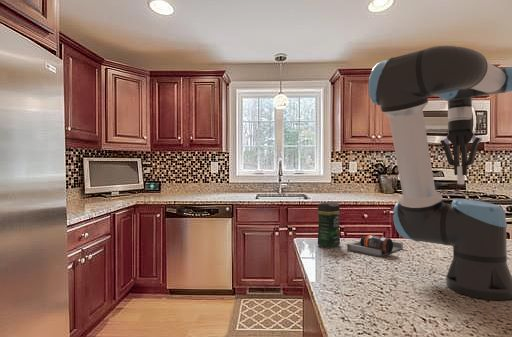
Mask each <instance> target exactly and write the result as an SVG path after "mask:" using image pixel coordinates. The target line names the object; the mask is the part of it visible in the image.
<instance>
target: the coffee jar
mask: <svg viewBox="0 0 512 337" xmlns="http://www.w3.org/2000/svg"><path fill="white" fill-rule="evenodd" d="M340 207H341V206H340V204H339V203H338V202H334V201H326V202H320V203H319V204H318V205H317V216H318V227H317V229H318V230H317V246H320V247H321V248H330V249H331V248H335V247H339V246H340V245H341V237H340V236H341V234H340V212H341V208H340Z"/></svg>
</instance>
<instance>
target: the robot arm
mask: <svg viewBox="0 0 512 337" xmlns="http://www.w3.org/2000/svg"><path fill="white" fill-rule="evenodd" d="M508 92H512V66H508V67H506V66H505V67H502V68H499V67H497V66H495V65H493V64H491V63H489V62H488V61H487V59H486V57H485V56H484V54H483V53H481V52H480V51H477V50H474V49H472V48H467V47H464V46H456V45H436V46H432V47H427V48H425V49H422V50H417V51H413V52H409V53H405V54H402V55H401V54H400V55H398V56H393V57H390V58H388V59H385V60H382V61H380V62H378V63H376V64H375V65H374V66H373V68H372V70H371V72H370V75H369V79H368V94H369V98H370V100H371V102H372V104H374V105H376V106H380V110H381V113H382V114H384V115H385V116H387V117H388V120H389V127H390V132H391V137H392V142H393V149H394V155H395V159H396V165H397V170H398V175H399V181H400V188H401V193H402V194H401V195H400V196H399V198H398V199H397V201H398V202H396V203H395V205H394V207H393V210H392V213H393V215H392V220H393V224H394V227H395V230H396V232H397V233H398V234H399V235H400V237H402V238H404V239H406V240H411V241H414V242H423V243H430V244H436V245H443V246H444V245H445V246H450V247H452V249H453V250H452V252H453V254H452V259H451V262H450V266H449V268H448V271H447V274H446V279H445V283H446V284H445V285H446V286H447V288H448V289H450V290H451V291H454V292H456V293H458V294H461V295H465V296H468V297H472V298H477V299H481V300H482V299H483V300H488V301H508V300H512V274H511V271H510V269H509V266H508V263H507V262H508V261H507V260H508V259H507V255H508V254H507V251H508V250H507V227H508V223H507V219H506V218H507V217H506V211H505V209H504V208H503V207H502V206H500V205H497V204H494V203H491V202H486V201H481V200H472V199H464V198H463V199H462V198H455V199H453V200H452V202H451V203H444V200H443V195H442V193H439V192H438V191H437V190H436V187H435V186H436V185H435V181H434V173H433V169H432V167H433V166H432V161H431V156H430V148H429V142H428V136H427V129H426V123H425V117H424V116H425V114H424V108H426V105H428V104H429V99H428V97H432V96H437V97H438V98H439V99H440V100H442V101H446V102H447V120H448V122H447V132H448V134H447V136H446V137H445V138H444V139H441V140H440V144H441V145H442V146H443V150H444V153H445V157H446V160H447V163H448V165H449V166H451V167H452V166H453V167H454V168H453V169H454V170H453V172H454V173H453V174H454V176H456V177H457V179H456V180H457V182H456V183H457V185H465V176H467V175H468V167H469V166H470V165H473V164H474V163H475V162H474V161H475V158H476V155H477V151H478V146H479V144H480V143H481V141H482V138H481V137H477V136H476V135H475V134H474V132H473V120H472V118H473V106H472V104H473V103H472V102H473V98H475V97H476V98H477V97H482V96H489V95H490V96H491V95H496V94H505V93H508ZM471 141H472V144H471V147H470V151H469V154H468V147H469V143H470V142H471ZM450 143H451V145H452V148H453V153H452V151H451V148H450V145H449V144H450ZM460 148H461V161H460ZM460 162H461V164H460Z"/></svg>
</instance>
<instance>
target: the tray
mask: <svg viewBox="0 0 512 337" xmlns="http://www.w3.org/2000/svg"><path fill="white" fill-rule="evenodd" d="M392 242H393V249H392V252H391V253H390V254H393V253H395V252H398V251H401V250H403V249H404V246H403V245H404V244H403V243H404V242H399V241H393V240H392ZM346 247H347V251H349V252H354V253H358V254H364V255H368V256H374V257H378V258H381V257H385V256H388V255H389V254H384V253H382V250H379V249H374V248H369V247H364V246H361V244H360V240H357V241H353V242H350V243H347V246H346Z"/></svg>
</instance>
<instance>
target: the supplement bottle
mask: <svg viewBox="0 0 512 337" xmlns="http://www.w3.org/2000/svg"><path fill="white" fill-rule="evenodd" d="M359 241H360V244H361V246H364V247H369V248H374V249H379V250H382V253H384V254H388V255H390V254H392V253H391V252H392V249H393V242H392V241H393V240H392V239H391V237H383V236H379V235H373V234H372V235H371V234H369V235H367V236H362V237H360V240H359Z"/></svg>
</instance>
